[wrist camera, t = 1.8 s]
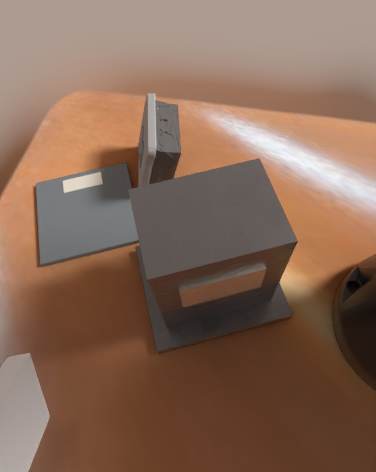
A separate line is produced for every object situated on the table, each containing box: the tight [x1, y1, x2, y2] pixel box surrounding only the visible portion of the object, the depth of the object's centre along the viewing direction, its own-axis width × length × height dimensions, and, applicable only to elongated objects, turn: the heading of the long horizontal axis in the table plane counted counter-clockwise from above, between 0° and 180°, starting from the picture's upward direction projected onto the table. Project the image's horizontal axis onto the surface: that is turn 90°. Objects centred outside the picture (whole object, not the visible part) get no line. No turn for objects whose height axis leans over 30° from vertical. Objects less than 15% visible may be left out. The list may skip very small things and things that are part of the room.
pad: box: [36, 162, 139, 267], centre depth 44 cm, size 12×12×1 cm
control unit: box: [128, 159, 298, 354], centre depth 33 cm, size 14×12×14 cm
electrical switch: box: [138, 93, 181, 187], centre depth 44 cm, size 9×5×9 cm, turn 3°
